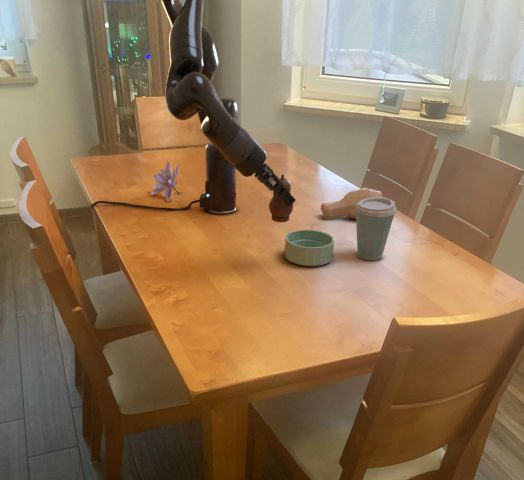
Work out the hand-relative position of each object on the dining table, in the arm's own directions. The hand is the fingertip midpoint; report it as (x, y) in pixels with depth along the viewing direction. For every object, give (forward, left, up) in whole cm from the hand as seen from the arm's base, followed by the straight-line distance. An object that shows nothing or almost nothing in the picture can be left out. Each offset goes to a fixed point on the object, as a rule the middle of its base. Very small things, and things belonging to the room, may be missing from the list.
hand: (288, 199), depth 134 cm
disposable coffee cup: (+23, +8, -17) cm, 29 cm away
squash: (+20, +38, -17) cm, 46 cm away
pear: (-2, -1, -5) cm, 5 cm away
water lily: (-43, +49, -17) cm, 68 cm away
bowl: (+6, +4, -17) cm, 18 cm away
